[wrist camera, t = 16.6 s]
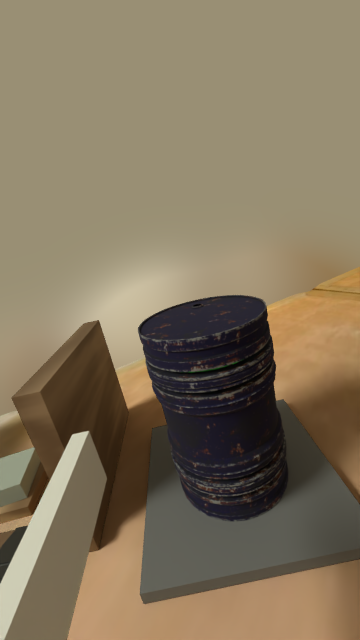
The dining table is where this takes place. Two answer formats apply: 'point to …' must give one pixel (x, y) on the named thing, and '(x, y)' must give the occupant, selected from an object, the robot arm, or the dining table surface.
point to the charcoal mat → (246, 525)
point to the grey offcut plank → (17, 475)
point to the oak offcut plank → (27, 504)
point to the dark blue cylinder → (219, 403)
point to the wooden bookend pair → (76, 408)
